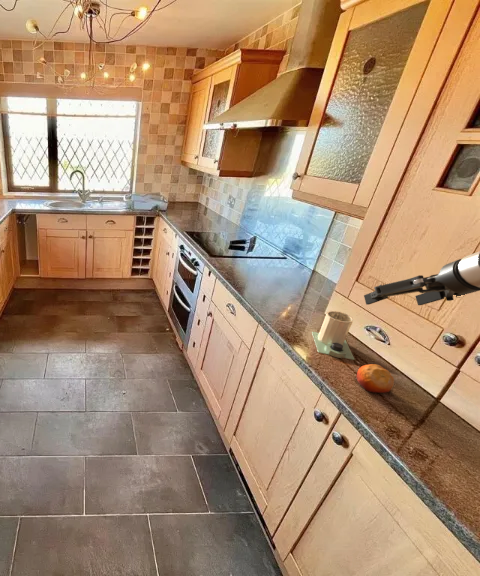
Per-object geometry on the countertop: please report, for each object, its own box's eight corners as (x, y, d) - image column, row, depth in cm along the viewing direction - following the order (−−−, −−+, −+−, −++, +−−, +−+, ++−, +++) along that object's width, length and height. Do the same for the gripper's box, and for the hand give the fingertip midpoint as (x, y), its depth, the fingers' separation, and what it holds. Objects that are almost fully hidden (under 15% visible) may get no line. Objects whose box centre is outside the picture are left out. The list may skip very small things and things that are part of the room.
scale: (343, 340, 110) (346, 334, 108) (354, 364, 98) (357, 357, 97) (310, 334, 113) (313, 327, 112) (317, 356, 102) (320, 349, 101)
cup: (340, 337, 109) (350, 313, 105) (345, 349, 103) (356, 324, 99) (316, 332, 112) (325, 309, 107) (319, 343, 106) (329, 319, 101)
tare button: (340, 348, 102) (342, 343, 101) (342, 352, 100) (344, 348, 99) (330, 345, 103) (331, 341, 102) (332, 350, 101) (333, 346, 100)
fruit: (370, 369, 94) (390, 361, 87) (382, 396, 90) (405, 389, 83) (343, 369, 94) (361, 361, 88) (354, 396, 90) (374, 389, 83)
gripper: (418, 288, 66) (348, 312, 86) (546, 289, 64) (444, 314, 84) (408, 256, 68) (342, 287, 88) (531, 257, 66) (435, 288, 86)
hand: (391, 300), depth 86 cm, fingers open, 13 cm apart
